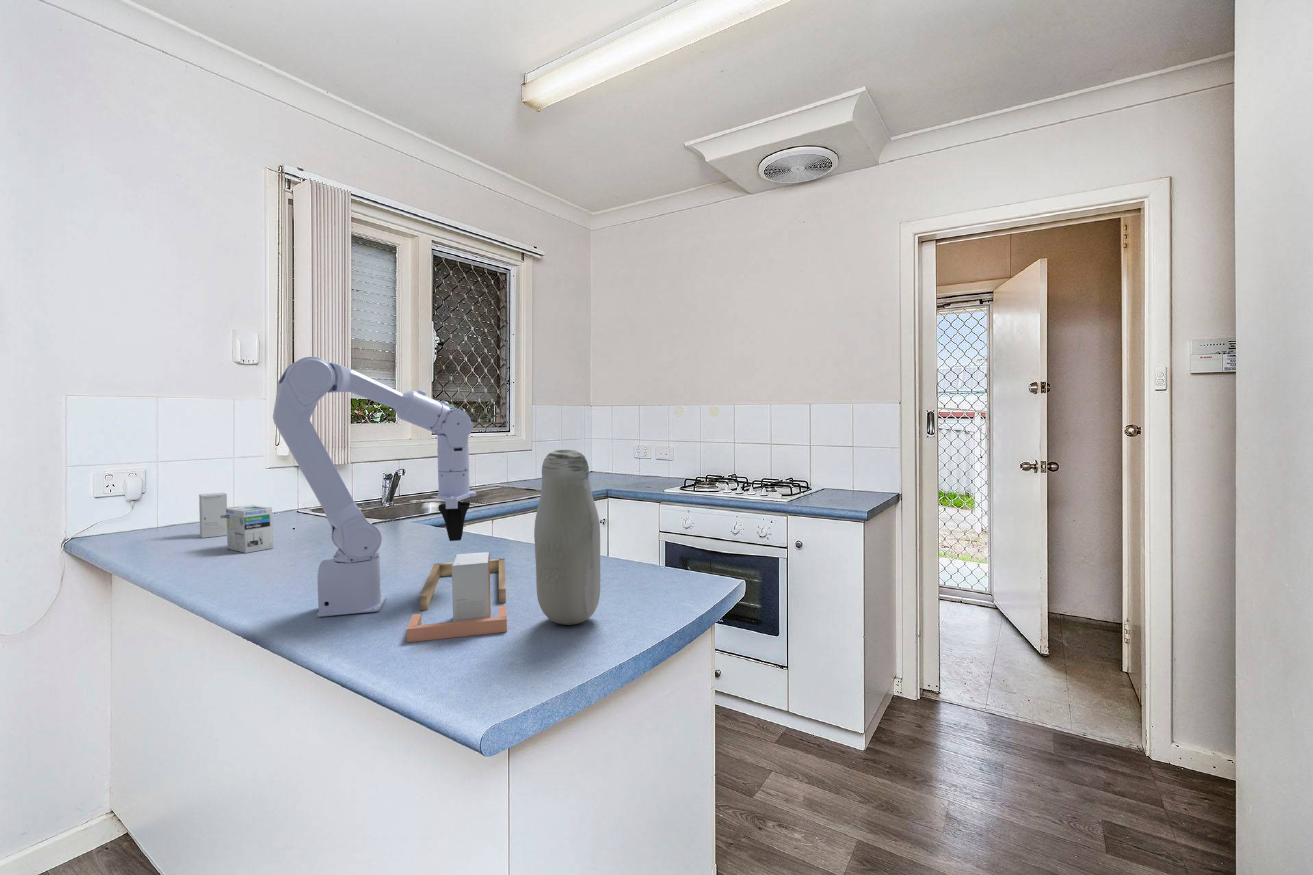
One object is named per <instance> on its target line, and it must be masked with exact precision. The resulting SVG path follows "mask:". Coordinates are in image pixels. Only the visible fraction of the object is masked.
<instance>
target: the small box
mask: <svg viewBox="0 0 1313 875" xmlns="http://www.w3.org/2000/svg"><path fill="white" fill-rule="evenodd" d="M490 560H491V559H490V552H489V551H487V552H486V551H484V552H473V553H472V552H471V553H457V554H456V555H455V558H454V559H453V562H454V563H453V565H452V576H451V584H452V585H451V586H452V588H451V590H452V614H453V615H452V620H453V621H452V622H456V621H466V620H476V619H486V618H492V616H491V615H492V608H491V607H492V606H491V604H492V603H491V572H490Z"/></svg>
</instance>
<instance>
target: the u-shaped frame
mask: <svg viewBox="0 0 1313 875" xmlns="http://www.w3.org/2000/svg"><path fill="white" fill-rule="evenodd" d="M505 560H506V559H505V558H493V559H490V573H498V603H499V604H501V603H504V604H505V603H507V597H506V596H507V594H506V593H507V592H506V591H507V590H506V564H505V563H506V561H505ZM453 563H454V561H451V562H441V563H433V565H432V567H431V570H430V572H429V574H428V577H427V579H426V580H425V584H424V585H423V588H422V590H421V593H420V595H419V610H420V611H427V610H429V608H430V604H431V601H432V598H433V597H434V593H435V591H436V589H437V585H438V582H439V580H440V577H450V576H451V577H452V565H453Z"/></svg>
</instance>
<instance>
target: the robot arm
mask: <svg viewBox="0 0 1313 875" xmlns="http://www.w3.org/2000/svg"><path fill="white" fill-rule="evenodd" d="M276 389H277V391H276V395H275V401H274V408H273V414H272V419H273V423H274V425H275V426H276V428H277V431H278V432H279V434H280V436H281V437H282V438H283V441H284V443H285V444H286V446H287V448H288V449H289V451H290V453H291V455H292V457H293V458H294V460H295V462H296V464H297V466H298V467H299V469H300V471H301V472H302V474H303V477H305V479H306V481H307V483H308V485H309V486H310V488H311V490H312V492H313V493H314V495H315V497H316V499H317V501H318V502H319V504H320V506H321V508H322V509H323V511H324V513H325V515H326V520H327V521H328V523H329V525H330V528H331V534H330V535H331V541H332V543H333V544H334V545H335V547H337V548H338V549H337V550H336V552H335V553H334V555H333V556H332V558H331V559H324V560H322V561H321V562H320V564H319V565H318V570H317V600H318V604H317V606H318V613H317V617H321V618H322V617H329V616H331V617H332V616H341V615H352V614H362V613H373V612H379V611H380V609H381V608H382V606H383V605H384V603H385V601H386V599H387V597H388V596H387V595H385V594H383V595H382V593H381V591H382V590H381V566H380V565H381V561H380V551H379V549H380V548H381V544H382V541H383V539H382V537H383V536H382V534H381V531H380V530H379V528H378V527H376V526H375V525H373V524H372V523H371V522H370V521H368V520H367V518H366V517H365V515H364V513H363V512H362V511H361V509H360V507H359V506H358V505H357V503H356V502H355V500H354V499H353V497H352V495H351V493H350V492H349V490H348V488H347V486H346V484H345V482H344V480H343V478H342V477H341V475H340V473H339V472H338V469H337V467H336V466H335V464H334V462H333V460H332V458H331V457H330V455H329V453H328V451H327V449H326V447H325V446H324V444H323V442H322V439H321V438H320V437H319V434H318V433H317V430H316V429H315V427H314V426H313V423H312V421H311V417H312V415H313V414H314V411H315V409H316V407H317V405H318V402H319V401H321V399H322V398H323V397H324V396H325V395H326V394H327V393H328V394H330V393H332V394H333V393H351V394H355V395H357V396H359V397H362V398H365V399H367V400H369V401H373V402H376V403H378V404H379V405H380V404H381V405H383V406H386V407H389V408H392V409H393V410H394V412H395V414H396V416H397V417H398V419H400V420H402V421H405V422H408V423H410V424H413V425H415V426H417V427H420V428H422V429H424V430H426V431H430V432H433V433H434V434H435V435H436V436H437V449H436V450H437V482H438V483H437V484H438V485H437V486H438V493H437V499H438V500H441V501H443V502H445V503H440V504H439V505H438V511H439V512H440V514H441V516H442V519H443V521H444V523H445V527H446V533H447V536H448V540H449V542H456V541H462V538H463V534H464V533H463V532H464V527H465V526H464V525H465V519H466V514H467V512H468V509H469V508H470V505H471V501H466V500H465V499H467V498H470V497H476V496H477V492H476V491H470V451H469V435H471V433H472V431H473V428H474V422H472V420H471V419H472V418H471V417H470V415H468V413H467V412H466V411H464V410H463V409H461V408H450V403H449V402H447V401H443V402H440V401H438V400H436V399H433V398H431V397H429V396H427V392H426V391H424V390H422V389H419V390H417V391H415V390H413V389H411V390H408V391H406V392H401V391H398V390H396V389H395V388H391V387H389V386H387V385H386V384H384V383H381V382H379V381H377V380H374V379H373V378H371V377H368V376H367V375H364V374H362V373H360V372H358V371H356V370H354V369H352V368H349V367H346V366H344V365H341V364H338V363H335V362H327V361H326V360H325V359H324V358H321V357H317V356H305V357H302V358H300V359H298V360H297V361H295V362H293V363H291V364H289V365H288V366H287V367H286V369H285V370H284V372H283V373H282V375H281V376H280V378H279V379H278V382H277V388H276ZM463 500H465V501H463Z"/></svg>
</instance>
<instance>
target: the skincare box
mask: <svg viewBox="0 0 1313 875" xmlns="http://www.w3.org/2000/svg"><path fill="white" fill-rule="evenodd" d="M227 495H228V494H227V493H226V492H214V493H213V492H211V493H202V494H201V493H199V495H198V496H199V498H198V499H199V500H198V501H199V536H200V537H201V539H205V538H215V537H221V536H227V521H226V508H228V500H227V499H228V496H227Z"/></svg>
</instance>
